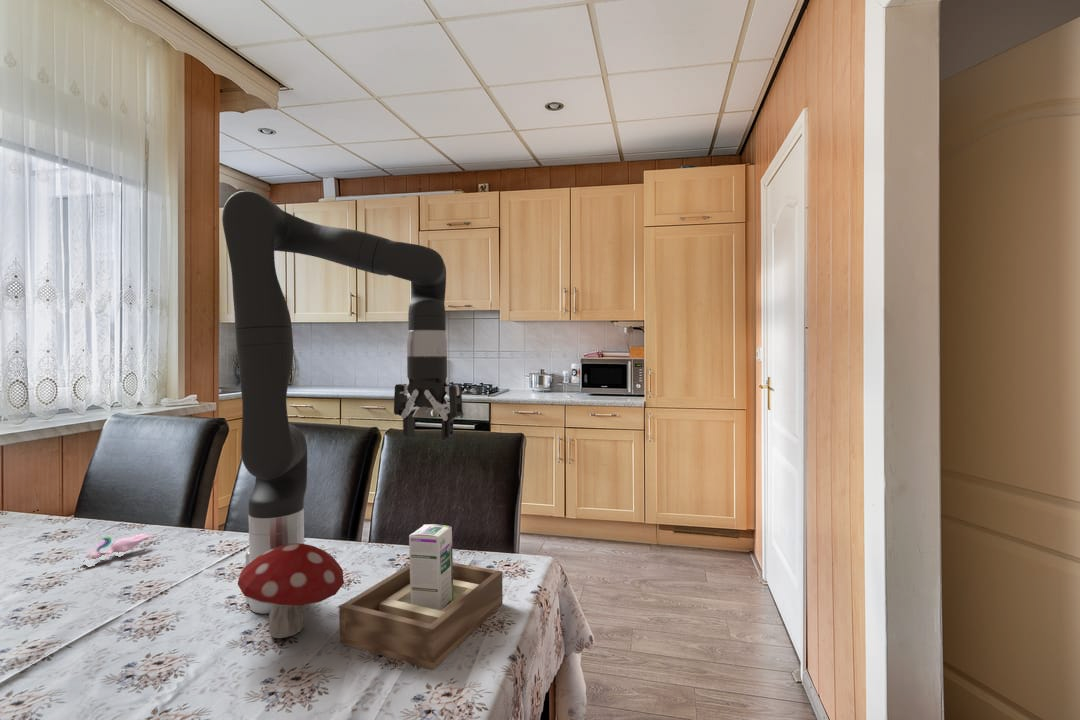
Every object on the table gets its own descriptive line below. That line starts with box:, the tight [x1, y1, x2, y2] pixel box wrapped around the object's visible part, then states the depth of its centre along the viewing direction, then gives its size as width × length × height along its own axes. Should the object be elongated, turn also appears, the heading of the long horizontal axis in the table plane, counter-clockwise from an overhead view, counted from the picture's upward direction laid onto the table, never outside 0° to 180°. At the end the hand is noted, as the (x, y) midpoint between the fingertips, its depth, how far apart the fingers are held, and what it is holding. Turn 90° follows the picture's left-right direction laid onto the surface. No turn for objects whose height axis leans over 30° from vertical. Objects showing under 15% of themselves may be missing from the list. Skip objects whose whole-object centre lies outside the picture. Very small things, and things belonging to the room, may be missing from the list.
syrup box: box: [408, 523, 454, 611], centre depth 92 cm, size 6×6×14 cm
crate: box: [338, 562, 503, 671], centre depth 91 cm, size 18×22×6 cm
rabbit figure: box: [78, 533, 155, 562], centre depth 119 cm, size 6×6×15 cm
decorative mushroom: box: [237, 543, 344, 639], centre depth 87 cm, size 16×16×15 cm
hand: (427, 438), depth 101 cm, fingers open, 8 cm apart
